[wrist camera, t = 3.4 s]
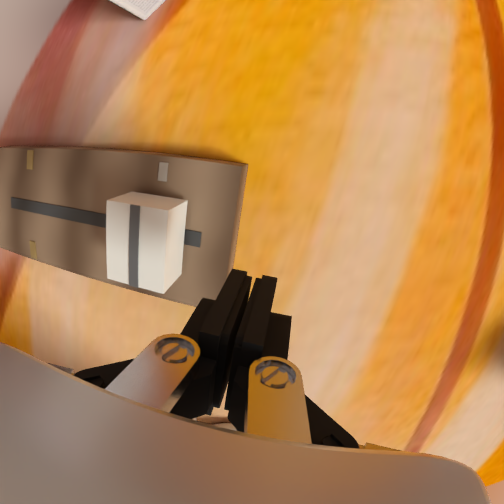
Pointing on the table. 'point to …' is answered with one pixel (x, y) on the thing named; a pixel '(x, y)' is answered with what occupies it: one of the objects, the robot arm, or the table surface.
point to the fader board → (95, 201)
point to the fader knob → (145, 240)
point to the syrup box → (139, 6)
